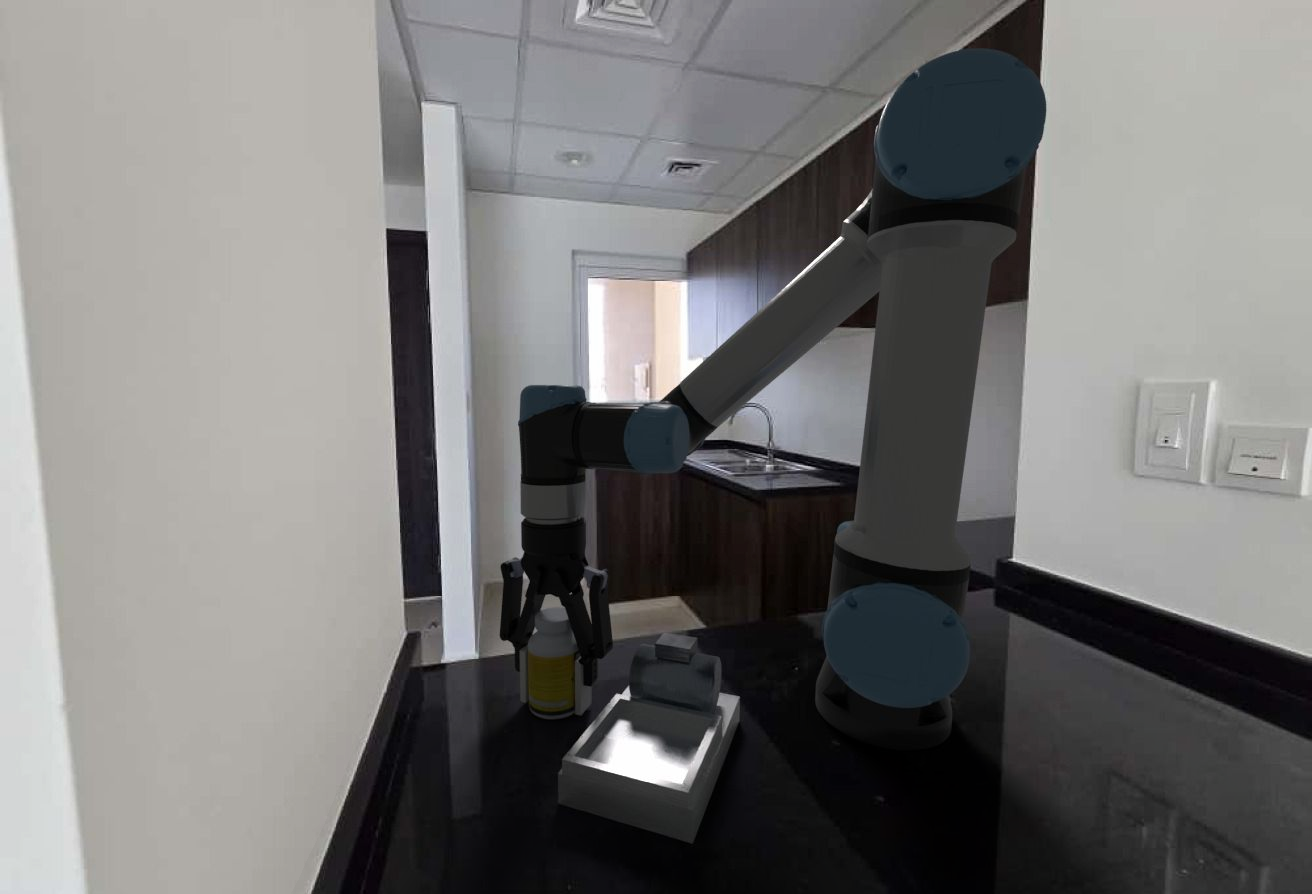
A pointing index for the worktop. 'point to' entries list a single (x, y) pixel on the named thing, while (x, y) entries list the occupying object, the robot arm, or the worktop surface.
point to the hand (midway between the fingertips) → (555, 702)
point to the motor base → (655, 743)
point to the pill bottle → (552, 665)
